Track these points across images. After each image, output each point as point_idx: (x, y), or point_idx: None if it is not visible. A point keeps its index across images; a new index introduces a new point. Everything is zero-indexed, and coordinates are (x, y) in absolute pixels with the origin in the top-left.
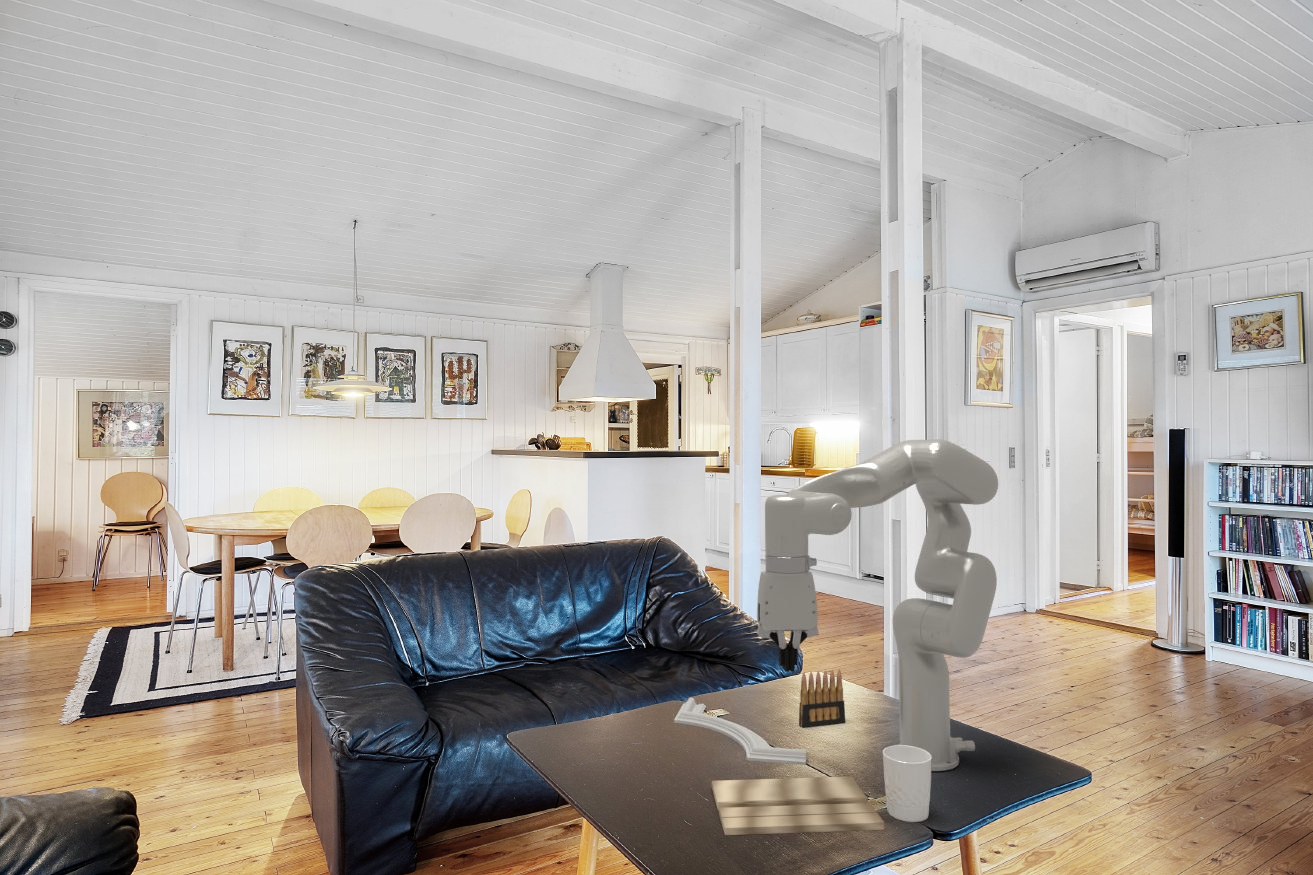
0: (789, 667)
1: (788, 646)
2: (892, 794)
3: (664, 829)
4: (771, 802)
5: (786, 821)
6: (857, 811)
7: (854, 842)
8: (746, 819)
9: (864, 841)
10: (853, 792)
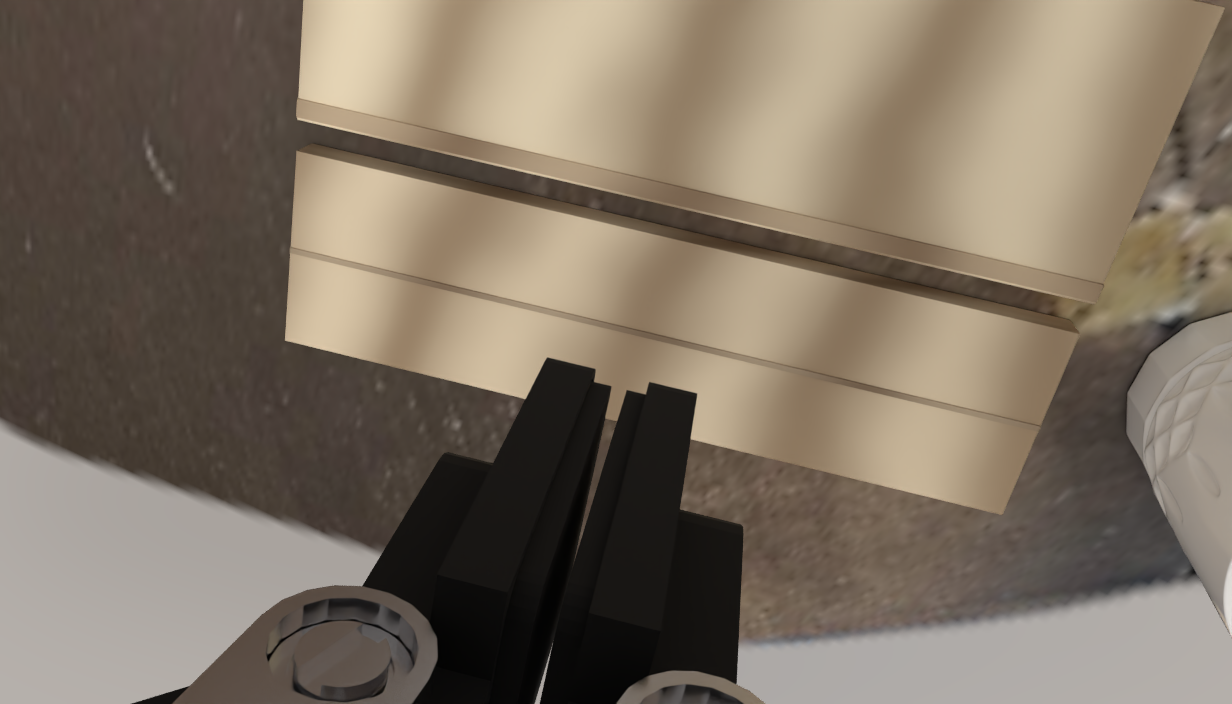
0: (554, 635)
1: (571, 689)
2: (1155, 483)
3: (53, 200)
4: (572, 182)
5: None
6: (952, 391)
7: (803, 535)
8: (398, 300)
9: (847, 542)
10: (1074, 210)
